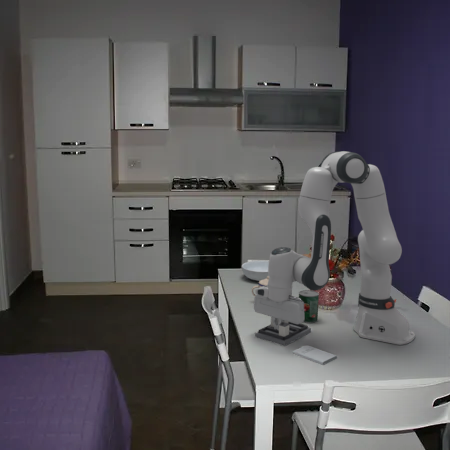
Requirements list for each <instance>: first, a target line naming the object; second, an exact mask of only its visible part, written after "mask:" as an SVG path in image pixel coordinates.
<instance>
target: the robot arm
mask: <svg viewBox="0 0 450 450" xmlns="http://www.w3.org/2000/svg"><path fill="white" fill-rule="evenodd" d="M338 183H339V184H341V183H347V184H350V185H351V187H352V190H353V196H354V201H355V207H356V212H357V213H356V214H357V218H358V220H359V222H360V226H361V228H362V229H361V231H360V232H359V234H358V235H357V244H358V247H359V263H360V274H361V275H360V290H359V293H358V298H357V299H358V300H357V307H358V308H357V311H358V312H357V316H356V318H355V319H356V320H355V322H354V326H353V327H352V328H353V330H354V332H356V333H357V335H358V336H359V337H360V338H364V339H369V340H373V341H378V342H384V343H387V344H388V343H389V344H392V345H398V346H399V345H400V346H402V345H403V346H404V345H407V344H409V343H411V342H412V341H414V340H415V338H416V334H415V332H414V331H412V330H410V324H409V320H408V318H407V317H406V316H405V315H404V314H402V313H401V312H400V311H399V309H397V308H396V307H395V303H397V298H395V299H394V298H392V296H391V292H392V290H391V289H392V281H393V280H392V279H393V275H392V272H391V269H390V265H392V264H395V263H396V262H398V261H399V259H401V256H402V252H403V250H402V249H403V248H402V245H401V243H400V241H399V239H398V236H397V232H396V230H395V227H394V223H393V221H392V217H391V215H390V210H389V205H388V200H387V195H386V194H387V192H386V189H385V184H384V180H383V177H382V174H381V171H380V169H379V168H378V166H376V165H374V164H371V163H369V164H368V163H367V161H366V160H365V158H363V157H362V155H360V154H359V153H356V152H351V151H345V150H343V151H333V152H330V153H328V154H326V155H325V157H324V158H323V159H322V160H321V162H320V163H319V165H318V166H314V167H311V168H309V169H308V170H307V172H306V174H305V176H304V179H303V181H302V184H301V185H302V186H301V189H300V194H299V198H298V205H297V206H298V207H297V208H298V215H299V216H300V218H301V220H302V221H303V222H304V223H305V224H306V225H307V226H308V228H309V229H310V232H311V236H312V243H311V251H310V253H311V258H309V257H307V256H304V255H303V254H300V253H297V252H296V251H294V250H293V249H292V248H290V247H282V246H281V247H276V248H274V249H273V250H272V251H271V252H270V254H269V260H268V261H269V265H268V275H269V280H268V285H266V286H263V287H260V288H255V289H254V291H255V293H254V294H255V295H256V296H254V300H253V311H254V312H255V313H257V314H261V315H264V316H268V317H270V318H271V317H272V321H273V323H274V329H276V330H279V324H281V323H283V322H284V321H287V322H291V323H294V324H303V323H304V322H303V321H304V318H305V317H304V302H303V301H302V300H301V298H299V297H298V296H297V297H296V296H293V283H294V282H297V283H299V284H301V285H302V286H304V287H305V288H307V290H311V291H316V292H317V291H320V290H321V289H323V288H324V287H325V286H326V285H327V284H328V283H329V280H330V277H331V270H330V261H329V259H330V248H331V238H332V236H331V235H332V223H331V220H330V205H331V201H332V194H333V190H334V189H335V187H336V185H338ZM277 319H278V321H279V323H278V321H277Z"/></svg>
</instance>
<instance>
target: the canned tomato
mask: <svg viewBox="0 0 450 450" xmlns="http://www.w3.org/2000/svg"><path fill="white" fill-rule="evenodd" d="M319 295H320V293H319V292H317V290H316V291H313V290H310V289H305V290H303V289H302V290H299V291H298V298H301V300H302V301H303V302H304V317H305V318H304V321H303V322H302V323H306V324H313V323H317V322H318V321H319V320H318V317H319V316H318V315H319V299H320V298H319Z"/></svg>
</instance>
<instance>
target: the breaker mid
mask: <svg viewBox="0 0 450 450" xmlns="http://www.w3.org/2000/svg"><path fill="white" fill-rule="evenodd" d="M277 321H278V319H277ZM278 323H279V321H278ZM270 324H271V326H272V327H274V323H273V321H272V317H271V316H270Z"/></svg>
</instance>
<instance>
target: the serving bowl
mask: <svg viewBox="0 0 450 450" xmlns="http://www.w3.org/2000/svg"><path fill="white" fill-rule="evenodd" d="M268 265H269V260H251V261H246V262H244V263H242V265H241V271H242V273H243V275H244V276H245V277H246V278H247V279H250V280H252V281H257V282H259V281H260V280H264V279H266V278H267V276H269V275H268Z"/></svg>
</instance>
